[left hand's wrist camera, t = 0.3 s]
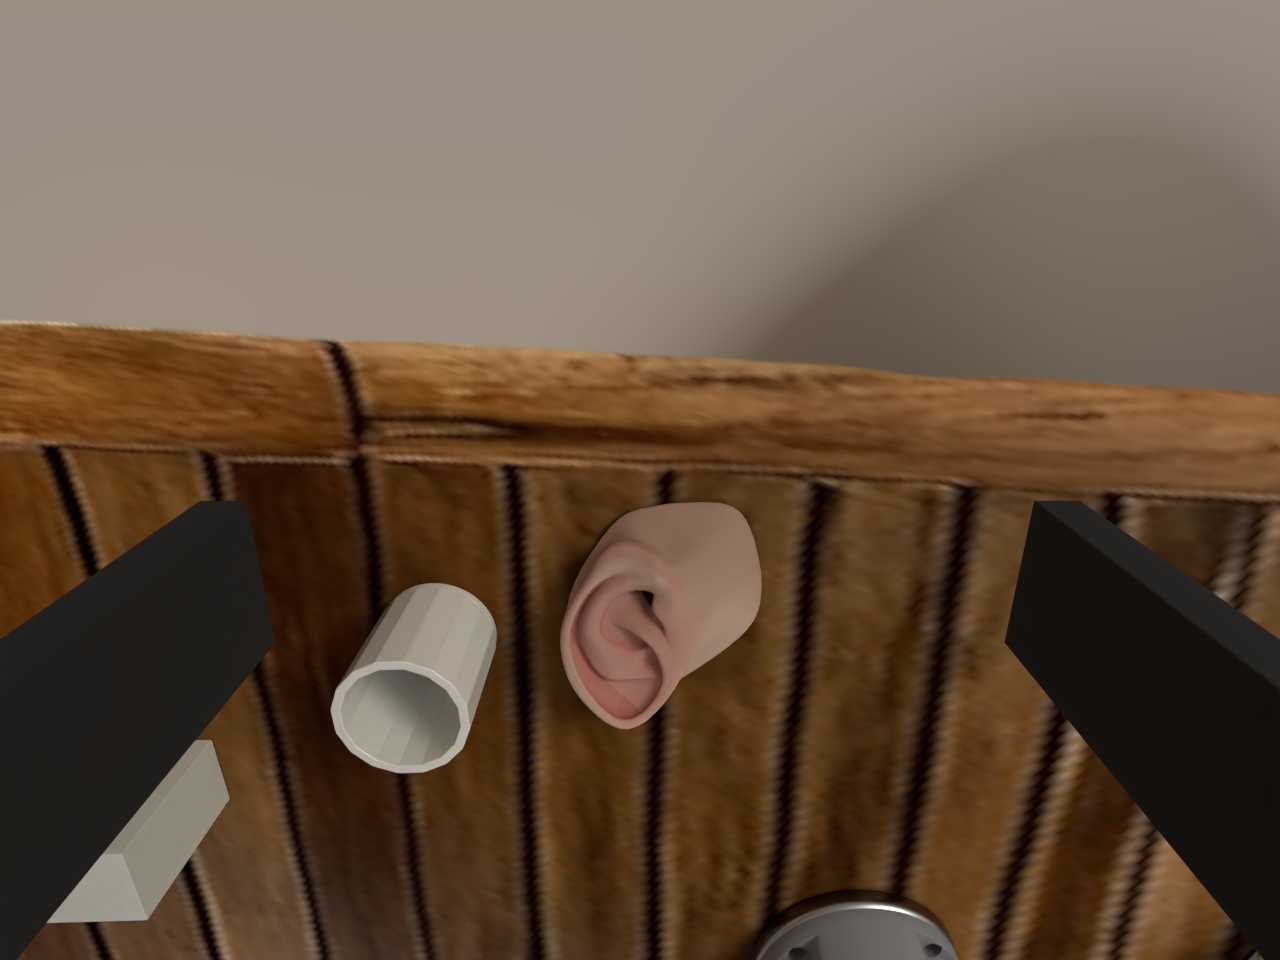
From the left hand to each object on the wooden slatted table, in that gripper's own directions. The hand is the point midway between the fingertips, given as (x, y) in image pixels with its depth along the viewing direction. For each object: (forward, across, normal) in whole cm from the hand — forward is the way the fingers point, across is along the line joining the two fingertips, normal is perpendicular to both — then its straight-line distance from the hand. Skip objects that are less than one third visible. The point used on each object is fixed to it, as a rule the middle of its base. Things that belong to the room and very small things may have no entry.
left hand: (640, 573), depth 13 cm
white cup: (+28, +12, +19) cm, 36 cm away
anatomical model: (+28, -1, +16) cm, 32 cm away
